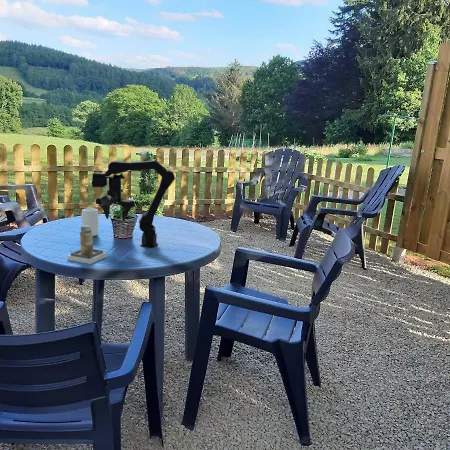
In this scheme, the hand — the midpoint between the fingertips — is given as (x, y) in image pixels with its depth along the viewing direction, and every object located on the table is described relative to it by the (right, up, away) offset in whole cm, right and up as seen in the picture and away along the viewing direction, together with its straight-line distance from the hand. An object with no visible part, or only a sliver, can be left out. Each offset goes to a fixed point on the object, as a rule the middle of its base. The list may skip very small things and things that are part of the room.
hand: (115, 219), depth 204 cm
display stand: (-8, -17, -17) cm, 26 cm away
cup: (-18, -9, +17) cm, 26 cm away
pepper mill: (-8, -15, -17) cm, 25 cm away
